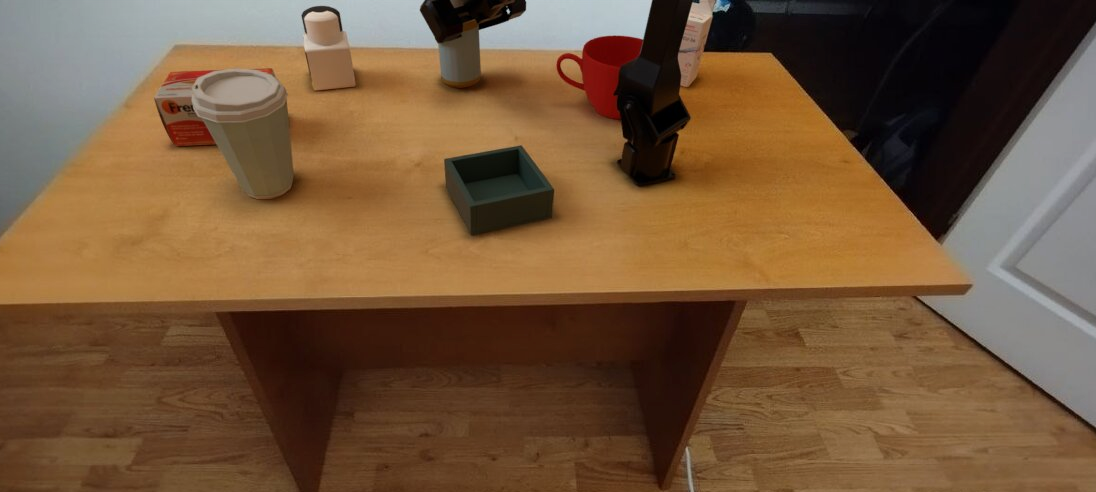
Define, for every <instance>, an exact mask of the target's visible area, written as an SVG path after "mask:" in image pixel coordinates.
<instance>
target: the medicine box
mask: <svg viewBox="0 0 1096 492" xmlns="http://www.w3.org/2000/svg"><path fill="white" fill-rule="evenodd" d="M252 69H253V70H258V71H261V72H264V73H267V74H271V75H273V77H276V74H275V71H274V68H269V67H267V68H252ZM219 70H220V69H211V70H210V69H209V70H189V71H188V70H183V71H169V72H168V75H167V77H166V78H165V80H164V81H163V83H162V84H161V86H160V87H159V88H158V90H157V92H156V93H155V94H154V96H153V99H154V102H155V103H154V104H155V107H156V110H157V113H158V116H159V118H160V121H161V123H162V125H163V128H164V130H165V132H166V134H167V136H168V138H169V140H170V141H171V144H172V146H175V147H185V146H207V145H217V144H216V142H215V140H214V139H213V137H212V135H211V133H210V132H209V130H208V128H207V126H206V125H205V123H204V121H203V119H202V118H201V117H198V115H197V114H196V112H195V111H194V109H193V104H192V96H193V94H194V93H193V91H192V86H193V85H194V83H195V81H196V80H197V78H199V77H201V76H203V75H206V74H208V73H211V72H213V71H219Z"/></svg>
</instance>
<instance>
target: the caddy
mask: <svg viewBox="0 0 1096 492" xmlns="http://www.w3.org/2000/svg"><path fill="white" fill-rule="evenodd" d="M443 161H444V163H443V164H444V178H445V188H446V191H447V192H448V194H449V196H450V198H451V200H452V202H453V203H454V206H455V207H456V209H457V212H458V213H459V215H460V217H461V220H462V222H463V223H464V225H465V227H466V228H467V231H468V233H469V234H470V236H475V235H479V234H483V233H484V234H485V233H488V232H492V231H498V230H502V229H506V228H511V227H516V226H520V225H524V224H528V223H533V222H537V221H542V220H546V219H547V220H548V219H552V217H553V209H554V208H553V207H554V198H555V187H553V185H552V184H551V182H550V181H549V180H548V179H547V177H546V176H545V175H544V173H543V172H542V171H541V169H540V168H539V166H538V165H537V164H536V162H535V161H534V160H533V159H532V157H531V155H530V154H529V153H528V152H527V150H526V149H525V147H524V146H523V145H521V144H519V145H515V146H508V147H504V148H498V149H491V150H487V151H486V150H485V151H481V152H476V153H470V154H465V155H459V156H452V157H446V158H444V159H443Z"/></svg>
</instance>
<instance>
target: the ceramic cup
mask: <svg viewBox="0 0 1096 492" xmlns="http://www.w3.org/2000/svg"><path fill="white" fill-rule="evenodd" d="M642 42H643V38H640V37H634V36H629V35H604V36H603V35H602V36H598V37H594V38H592V39H589V40H588V41H586V42H585V44H584V45H583V47H582V53H581V57H580V56H578V55H576V54H574V53H570V52H567V53H566V52H565V53H563V54H561V55H560V56H559V57H558V59H557V60H556V66H555V67H556V71H557V74H558V75H559V77H560V78H561V79H562V81H563V82H565V83H566V84H568V85H570V86H572V87H574V88H576V89H579V90H580V91H584V92H585V95H586V98H587V99H588V101H589V102H590V104H591V105H592V106H593V108H594V110H595V111H596V112H597V113H598V114H599V115H601V116H603V117H605V118H608V119H615V120H621V118H620V112H619V111H617V107H616V99H617V96H618V95H616V96H614V95H613V93H614V92H615V90H616V88H617V85H618V76H619V70H620V67H621V66H622V65H624V64H626V63H628V62H630V61H632V60H634V59H636V58H638V56H639V54H640V51H641V47H642ZM564 60H572V61H574V62H575V63H577V65H578V66H579V69H580V72H581V78H582V83H581V82H579V81H576V80H574V79H572V78H570V77H568V76H567V75H566V74H565V73H564V71H563V70H562V66H561V65H562V62H563V61H564Z"/></svg>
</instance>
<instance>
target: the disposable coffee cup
mask: <svg viewBox="0 0 1096 492" xmlns="http://www.w3.org/2000/svg"><path fill="white" fill-rule="evenodd" d="M253 69H254V68H237V67H235V68H228V69H218V70H219V71H213V72H211V73H208V74H206V75H203V76H201V77H199V78H197V80H196V81H195V83H194V85H193V86H192V91H193V93H194V94H193V96H192V104H193V109H194V111H195V112H196V114H197V115H198V117H201V118H202V119H203V121H204V123H205V125H206V126H207V128H208V130H209V132H210V133H211V135H212V137H213V139H214V140H215V142H216V144H215V145H216V146H217V147H218V149H219V151H220V153H221V155H222V156H223V158H224V160H225V162H226V163H227V165H228V167H229V169H230V171H231V172H232V174H233V176H234V178H235V179H236V181H237V183H238V185H239V186H240V188H241V189H242V191H243V193H244V194H245V193H246V195H247V196H248V197H250V198H254V199H256V200H271V199H275V198H278V197H281V196H283V195H284V194H286V193H287V192H288V191H290V190H291V188H292V185H293V182H294V178H295V174H294V163H293V162H294V161H293V153H292V152H293V151H292V143H291V141H292V140H291V130H290V121H289V120H290V119H289V110H288V100H287V99H288V95H289V94H288V92H287V89H286V87H285V85H283V83H282V81H280V80H279V78H277V76H275V77H273V75H271V74H267V73H264V72H261V71H258V70H253Z"/></svg>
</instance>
